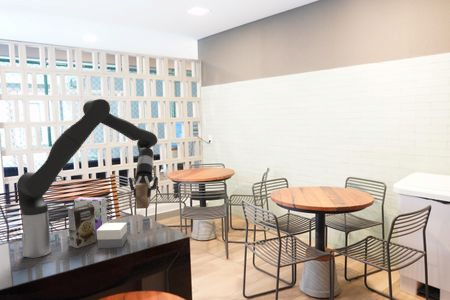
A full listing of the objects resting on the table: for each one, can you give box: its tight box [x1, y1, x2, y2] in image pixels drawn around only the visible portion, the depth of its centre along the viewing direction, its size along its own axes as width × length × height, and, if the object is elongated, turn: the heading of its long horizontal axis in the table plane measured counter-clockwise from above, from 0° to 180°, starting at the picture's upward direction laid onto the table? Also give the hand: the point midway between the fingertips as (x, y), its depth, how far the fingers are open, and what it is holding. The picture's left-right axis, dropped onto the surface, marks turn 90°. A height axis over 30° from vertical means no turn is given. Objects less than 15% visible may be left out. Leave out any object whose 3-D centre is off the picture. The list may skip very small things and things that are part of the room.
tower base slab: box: [97, 231, 128, 249], centre depth 154 cm, size 10×10×4 cm
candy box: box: [73, 196, 108, 235], centre depth 169 cm, size 14×6×16 cm, turn 81°
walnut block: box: [135, 183, 150, 210], centre depth 163 cm, size 5×5×11 cm
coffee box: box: [67, 205, 97, 249], centre depth 153 cm, size 9×6×16 cm
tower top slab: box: [96, 222, 128, 241], centre depth 153 cm, size 10×10×4 cm
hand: (141, 196), depth 161 cm, fingers closed on walnut block, 5 cm apart
